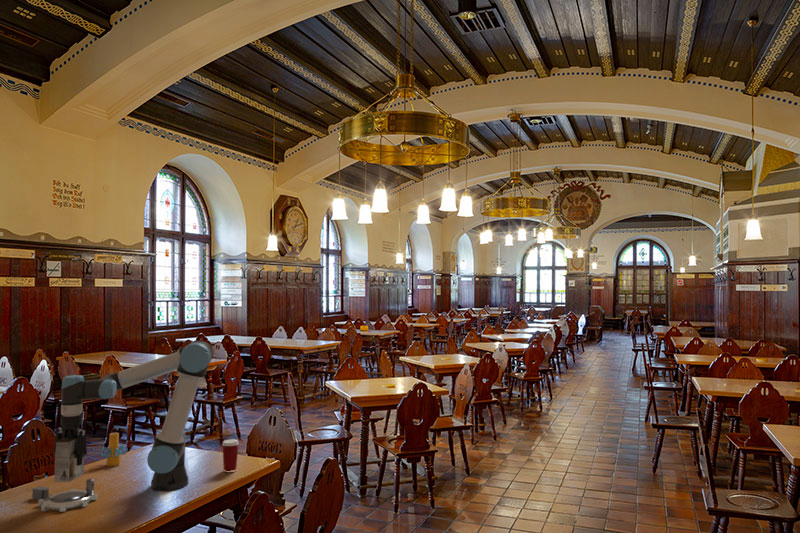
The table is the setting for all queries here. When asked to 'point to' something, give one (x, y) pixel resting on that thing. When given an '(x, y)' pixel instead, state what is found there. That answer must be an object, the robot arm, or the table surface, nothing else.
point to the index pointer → (40, 493)
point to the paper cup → (230, 454)
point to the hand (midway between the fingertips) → (69, 472)
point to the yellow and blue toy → (113, 450)
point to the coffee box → (66, 460)
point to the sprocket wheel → (69, 498)
